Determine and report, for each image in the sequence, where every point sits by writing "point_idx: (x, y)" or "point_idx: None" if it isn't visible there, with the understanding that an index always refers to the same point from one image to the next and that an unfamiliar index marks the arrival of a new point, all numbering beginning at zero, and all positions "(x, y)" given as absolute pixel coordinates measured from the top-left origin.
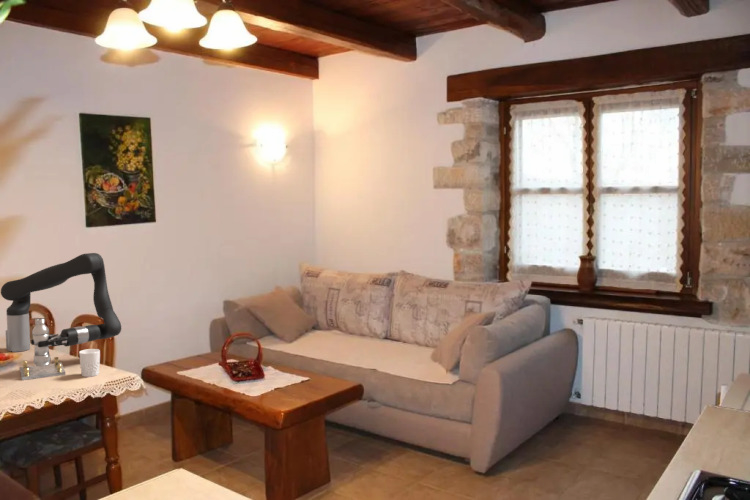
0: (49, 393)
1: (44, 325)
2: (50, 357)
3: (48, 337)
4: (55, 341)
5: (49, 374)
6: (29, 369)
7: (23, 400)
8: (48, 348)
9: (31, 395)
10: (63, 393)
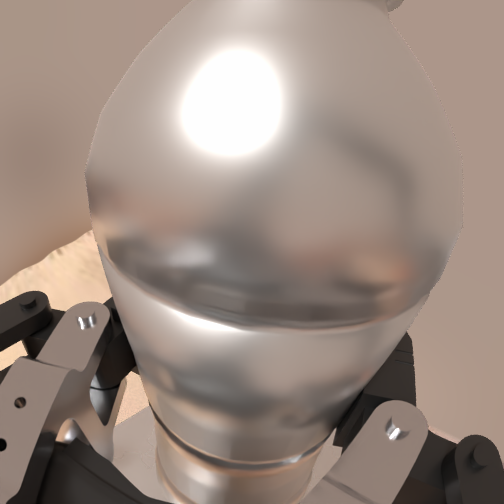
0: (43, 278)
1: (179, 15)
2: (167, 495)
3: (128, 338)
4: (2, 320)
5: (118, 426)
6: (320, 466)
7: (91, 245)
8: (161, 443)
9: (86, 265)
10: (8, 281)
